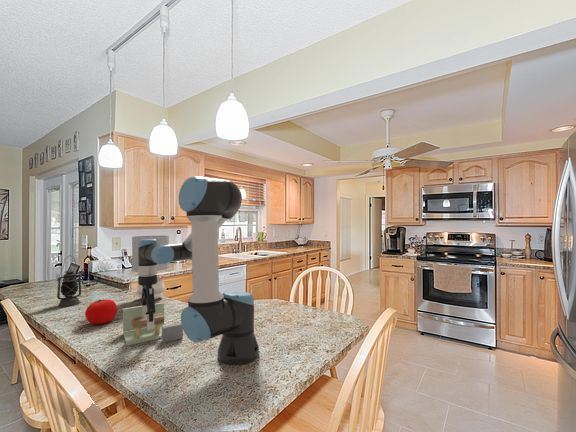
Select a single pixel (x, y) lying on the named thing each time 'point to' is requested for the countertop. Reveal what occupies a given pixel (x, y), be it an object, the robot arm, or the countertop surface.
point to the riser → (172, 332)
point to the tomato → (101, 311)
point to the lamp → (159, 286)
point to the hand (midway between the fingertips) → (147, 324)
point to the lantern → (69, 288)
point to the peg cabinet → (139, 333)
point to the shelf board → (143, 320)
